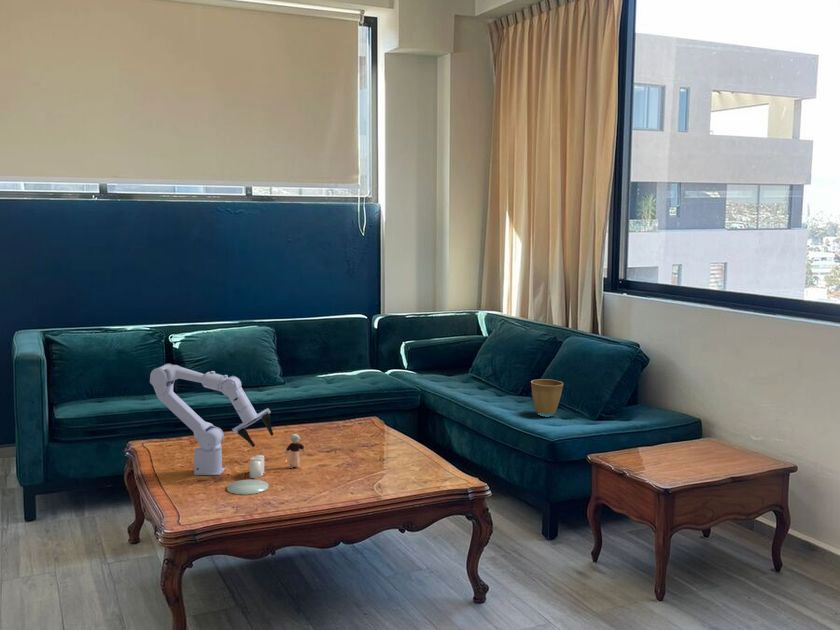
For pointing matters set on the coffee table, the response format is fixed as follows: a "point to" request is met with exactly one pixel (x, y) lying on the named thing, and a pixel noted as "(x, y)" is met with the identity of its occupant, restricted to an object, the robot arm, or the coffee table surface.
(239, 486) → the sage plate
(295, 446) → the grandmother figurine
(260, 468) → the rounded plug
